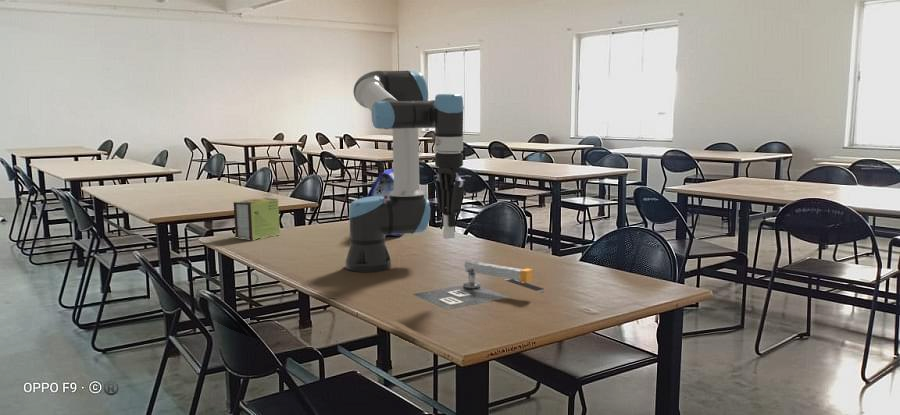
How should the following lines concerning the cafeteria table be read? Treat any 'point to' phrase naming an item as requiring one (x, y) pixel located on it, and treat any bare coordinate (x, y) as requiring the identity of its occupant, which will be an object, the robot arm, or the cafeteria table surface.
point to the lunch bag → (383, 186)
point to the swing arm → (500, 271)
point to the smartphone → (525, 285)
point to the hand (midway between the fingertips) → (448, 237)
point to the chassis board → (470, 287)
